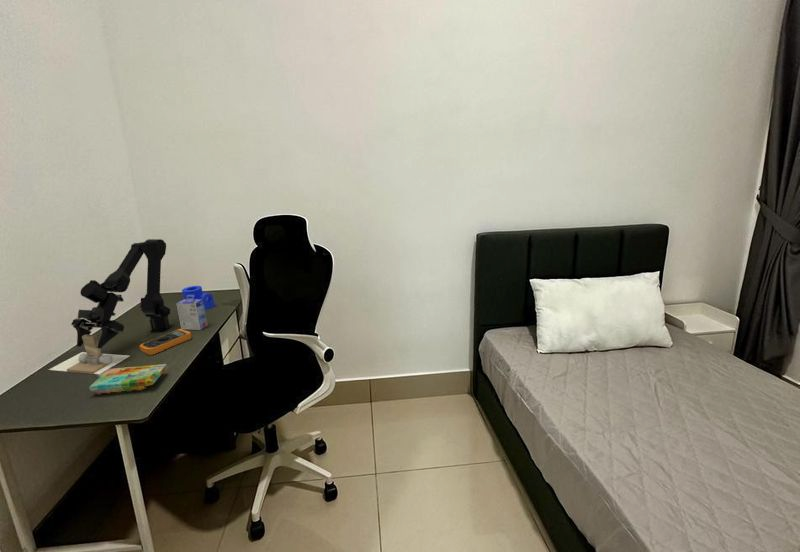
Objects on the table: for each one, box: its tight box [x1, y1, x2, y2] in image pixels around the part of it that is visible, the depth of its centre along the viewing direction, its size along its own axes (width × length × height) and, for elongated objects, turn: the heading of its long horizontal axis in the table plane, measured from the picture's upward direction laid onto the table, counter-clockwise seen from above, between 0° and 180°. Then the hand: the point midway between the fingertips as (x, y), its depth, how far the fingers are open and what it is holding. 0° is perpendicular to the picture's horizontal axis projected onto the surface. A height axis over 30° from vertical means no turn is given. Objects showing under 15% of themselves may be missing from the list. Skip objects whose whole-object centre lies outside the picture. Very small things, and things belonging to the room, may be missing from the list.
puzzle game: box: [88, 363, 168, 395], centre depth 157 cm, size 12×5×20 cm
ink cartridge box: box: [175, 295, 209, 331], centre depth 200 cm, size 10×6×14 cm, turn 78°
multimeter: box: [139, 328, 192, 356], centre depth 186 cm, size 9×18×3 cm, turn 145°
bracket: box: [181, 285, 216, 311], centre depth 229 cm, size 20×9×8 cm, turn 51°
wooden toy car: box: [82, 334, 105, 365], centre depth 171 cm, size 3×5×11 cm
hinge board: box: [48, 351, 130, 378], centre depth 173 cm, size 14×23×4 cm, turn 76°
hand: (88, 347), depth 169 cm, fingers open, 9 cm apart
